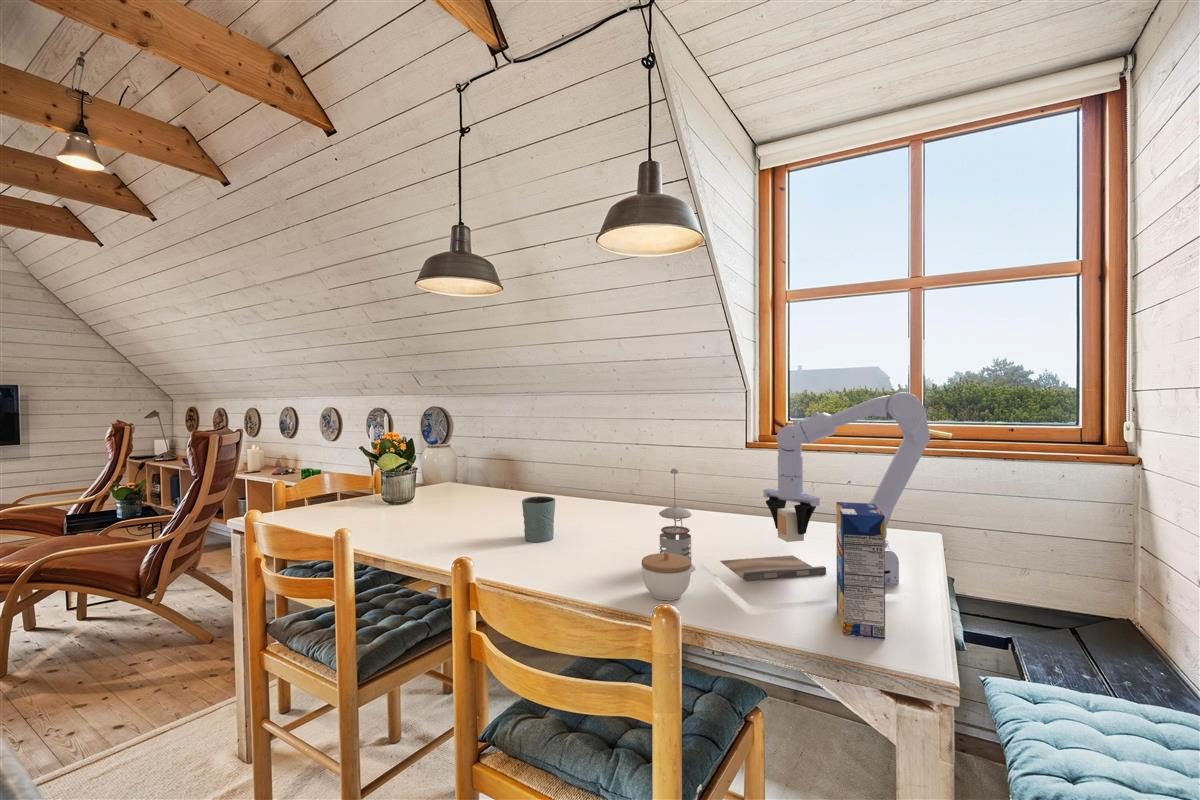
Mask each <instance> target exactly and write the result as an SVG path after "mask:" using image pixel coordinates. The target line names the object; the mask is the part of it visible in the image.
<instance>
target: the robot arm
mask: <svg viewBox="0 0 1200 800" xmlns="http://www.w3.org/2000/svg"><path fill="white" fill-rule="evenodd" d="M926 411H927V410H926V408H925V407H924V406H923V403H922V402H921V401H920V399H919V398H918V397H917V396H916V395H915V394H913V393H910V392H905V391H898V392H895V393H893V394H892V395H889V394H888V395H883V396H882V395H881V396H879V397H875V398H870V399H868V400H866V401H863V402H860V403H858V404H855V405H853V406H851V407H849V408H848V407H847V408H846V409H843V410H841V411H838V412H836V413H833V414H829V413H827V412H820V413H819V411H816V412H813V413H811V414H812V416H809V417H807V418H804V419H802V420H799V421H798V419H796V420H793V421H792V424H788V425H785V426H783V427H781V428H780V429H779V430H778V431H777V434H776V437H775V438H776V443H777V445H778V447H777V448H778V449H777V452H778V454H777V489H774V488H764V489H763V498H768V499H767V500H765V504H766V505H767V507H768V509H769V511H770V513H771V515H772V518H773V522H774V526H775V529H776V530H778V524H777V514H778V511H777V509H781V508H786V504H787V502H791V503H792V502H793V503H797V504H795V505H793V508H795V511H796V515H797V524H798V534H800V535H802V534H804V535H805V534H807V530H808V526H809V523H810V520H811V517H812V514H813V513H814V512H815V510H816V509H817V507H819V506H820V504H821V501H820V498H821V497H820V496H814V495H811V494H808V493H805V492H804V483H803V482H804V478H803V477H804V475H803V474H804V466H803V465H804V460H803V459H804V458H803V455H802V451H803V450H802V449H803V448H802V447H803V446H802V445H803V444H806V445H809V444H811V443H814V442H817V441H819V440H822V439H825V438H828V437H830V436H834V435H835V433H836V431H837V428H838V427H842V426H845V425H848V424H851V423H854V422H857V421H859V420H863V419H866V418H869V417H872V416H873V417H882V418H887V413H888V414H889V415H890V416H891V418H892V419H893V420H894V421H895V422H896V424H898V427H899V429H900V432H901V433H902V435H903V438H902V440H901V442H900V444H899V445H898V448H897V450H896V452H895V454H894V456H893V458H892V459H891V462H890V463H889V465H888V467H887V468H886V471H885V472H884V475H883V477H882V479H881V481H880V483H879V484H878V487H877V489H876V491H875V492H874V494H873V496H872V497H871V499H870V501H869V502H868V503H870V504H875V505H876V506H877V508H878V509H879V510H880V511H881V512H882V514H883V515H884V516H885V586H890V585H892V586H893V585H899V584H900V574H899V573H900V570H899V569H900V561H899V557H898V555H897V554H896V552H894V551H892V550H891V548H890V546H889V541H888V539H887V536H888V535H887V534H888V531H887V528H888V525H889V523H890V521H891V517H892V514H893V510H894V509H895V507H896V506H897V505H896V504H897V503H898V501H899V499H900V497H901V495H902V493H903V491H904V489H905V487H906V485H907V483H908V482H909V480H910V478H911V477H912V474H913V472H914V471H915V469H916V467H917V465H918V463H919V461H920V459H921V457H922V455H923V453H924V452H925V449H926V447H927V445H928V444H929V442H930V440H931V435H930V434H931V433H930V429H929V425H928V420H927V413H926Z"/></svg>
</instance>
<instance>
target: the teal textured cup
mask: <svg viewBox="0 0 1200 800" xmlns="http://www.w3.org/2000/svg"><path fill="white" fill-rule="evenodd" d="M521 505H522V506H521V507H522V516H523V524H524V525H523V526H524V529H523V530H524V531H523V532H524V539H525V541H526V542H529V543H535V544H537V543H538V544H539V543H547V542H551V541H552V540H554V532H555V531H554V530H555V529H554V528H555V525H554V523H555V512H556V510H555V509H556V498H555V497H552V496H542V495H541V496H540V495H539V496H538V495H537V496H528V497H526V498H523V499H522V500H521Z"/></svg>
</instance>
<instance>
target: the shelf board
mask: <svg viewBox="0 0 1200 800" xmlns="http://www.w3.org/2000/svg"><path fill="white" fill-rule="evenodd" d="M719 562H720V563H721V564H723V565H724V566H725V567H727V568H729V570H731V571H732V572H733V573H735V574H736V575H737V576H738V577H740V578H741V579H742V580H743V581H745V582H750V581H764V580H775V579H787V578H788V579H790V578H799V577H802V578H803V577H812V576H813V577H814V576H824V575H827V567H826V566H824V565H822V566H821V565H818V566H812V565H810V564H808V563H807V562H805V561H804V560H801V559H800V558H799V557H797V556H795V555H792V554H791V555H780V556H779V555H778V556H766V557H751V558H739V559H726V560H719Z"/></svg>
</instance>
